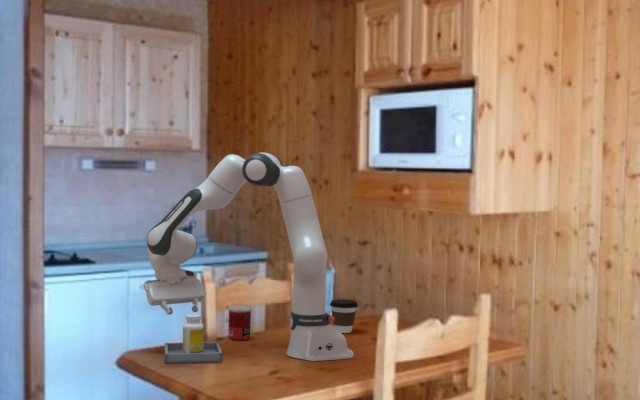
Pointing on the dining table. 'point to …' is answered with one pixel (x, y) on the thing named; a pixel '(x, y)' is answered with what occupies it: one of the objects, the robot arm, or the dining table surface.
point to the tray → (192, 354)
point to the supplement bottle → (193, 334)
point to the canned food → (239, 323)
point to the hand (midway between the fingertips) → (183, 312)
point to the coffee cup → (343, 314)
